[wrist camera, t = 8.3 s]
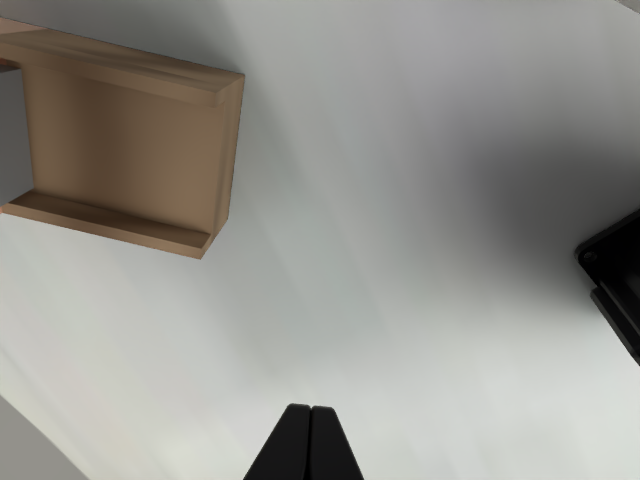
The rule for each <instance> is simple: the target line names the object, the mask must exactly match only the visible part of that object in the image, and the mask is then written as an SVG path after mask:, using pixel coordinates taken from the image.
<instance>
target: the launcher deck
mask: <svg viewBox="0 0 640 480" xmlns="http://www.w3.org/2000/svg"><path fill="white" fill-rule="evenodd" d="M0 58H4V59H6V63H7V66H11V67H16V68H20V69H21V72H22V81H23V91H24V100H25V109H26V119H27V128H28V138H29V147H30V157H31V166H32V175H33V185H34V188H33V189H31V190H29V191H28V192H26V193H24V194H22V195H21V196H19V197H17V198H15V199H13V200H12V201H10V202H8V203H6V204H5V205H3V206H2V213H6V214H10V215H14V216H18V217H23V218H27V219H31V220H35V221H40V222H44V223H48V224H52V225H56V226H61V227H65V228H69V229H73V230H78V231H82V232H86V233H90V234H95V235H99V236H103V237H107V238H111V239H116V240H120V241H124V242H128V243H133V244H137V245H141V246H145V247H149V248H154V249H158V250H162V251H166V252H171V253H175V254H179V255H183V256H187V257H192V258H196V259H200V260H201V258H202V257H203V255H204V254H205V252H206V251H207V249H208V248H209V246H210V245H211V243H212V242H213V240H214V239H215V237H216V236H217V234H218V233H219V231H220V230H221V228H222V227H223V225H224V224H225V222H226V221H227V219H228V212H229V204H230V196H231V187H232V179H233V171H234V162H235V154H236V146H237V137H238V129H239V120H240V112H241V104H242V95H243V87H244V79H245V75H243V74H238V73H234V72H230V71H226V70H221V69H217V68H213V67H209V66H204V65H200V64H196V63H192V62H187V61H183V60H179V59H175V58H170V57H166V56H162V55H158V54H153V53H149V52H145V51H141V50H136V49H132V48H128V47H124V46H119V45H115V44H111V43H107V42H102V41H98V40H94V39H90V38H85V37H81V36H77V35H73V34H68V33H64V32H60V31H56V30H51V29H41V30H32V31H23V32H14V33H5V34H0Z"/></svg>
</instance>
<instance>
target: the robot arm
mask: <svg viewBox="0 0 640 480" xmlns="http://www.w3.org/2000/svg"><path fill="white" fill-rule="evenodd" d="M589 252H593V254H592V255H591V256H590V257H587V258H584V256H585V255H586V254H587V253H589ZM574 256H575V258H576V260H577V261H578V263H579V264H580V265H581V266H582V268H583V269H584V270H585V271H586V273H587V274H588V275H589V276H590V278H591V279H592V280H593V281H594V283H595V284H596V285H597V286H598V287H596V288H594V289H593V290H592V291H591V295H590V297H591V298H592V300H593V301H594V303H595V304H596V305H597V307H598V308H599V310H600V311H601V313H602V314H603V316H604V317H605V319H606V320H607V321H608V323H609V324H610V326H611V327H612V329H613V330H614V332H615V333H616V335H617V336H618V337H619V339H620V340H621V342H622V343H623V345H624V346H625V348H626V349H627V351H628V352H629V353H630V355H631V356H632V357H633V359H634V360H635V361H636V362H637V364H638V365H639V366H640V210H638V211H636V212H635V213H633V214H631V215H630V216H628V217H626V218H625V219H623V220H621V221H619V222H618V223H616V224H614V225H613V226H611V227H609V228H608V229H606V230H604V231H603V232H601V233H599V234H598V235H596V236H594V237H593V238H591V239H589V240H588V241H586V242H584V243H583V244H581V245H580V246H578V247H577V248H576V250H575V253H574ZM243 480H364V478H363V475H362V473H361V471H360V468H359V466H358V464H357V461H356V459H355V457H354V454H353V452H352V450H351V447H350V445H349V443H348V440H347V438H346V435H345V433H344V431H343V428H342V426H341V424H340V421H339V419H338V417H337V414H336V412H335V410H334V409H333V408H331V407H324V406H313V407H312V408H310V406H309V405H304V404H294V403H292V404H289V405H288V406H287V408H286V409H285V411H284V413H283V414H282V416H281V418H280V419H279V421H278V423H277V424H276V426H275V428H274V429H273V431H272V432H271V434H270V436H269V437H268V439H267V441H266V442H265V444H264V446H263V447H262V449H261V451H260V452H259V454H258V456H257V457H256V459H255V460H254V462H253V464H252V465H251V467H250V469H249V470H248V472H247V474H246V475H245V477H244V479H243Z"/></svg>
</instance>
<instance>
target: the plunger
mask: <svg viewBox="0 0 640 480" xmlns="http://www.w3.org/2000/svg"><path fill="white" fill-rule="evenodd" d="M33 188H34V185H33V175H32V166H31V157H30V147H29V138H28V128H27V119H26V109H25V100H24V91H23V81H22V72H21V69H20V68H16V67H11V66H7V65H3V64H0V207H1V206H3V205H5V204H6V203H8V202H10V201H12V200H13V199H15V198H17V197H19V196H21V195H22V194H24V193H26V192H28V191H29V190H31V189H33Z"/></svg>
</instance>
